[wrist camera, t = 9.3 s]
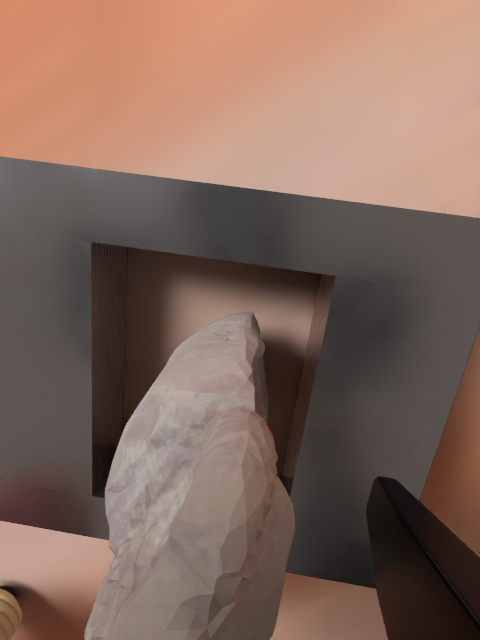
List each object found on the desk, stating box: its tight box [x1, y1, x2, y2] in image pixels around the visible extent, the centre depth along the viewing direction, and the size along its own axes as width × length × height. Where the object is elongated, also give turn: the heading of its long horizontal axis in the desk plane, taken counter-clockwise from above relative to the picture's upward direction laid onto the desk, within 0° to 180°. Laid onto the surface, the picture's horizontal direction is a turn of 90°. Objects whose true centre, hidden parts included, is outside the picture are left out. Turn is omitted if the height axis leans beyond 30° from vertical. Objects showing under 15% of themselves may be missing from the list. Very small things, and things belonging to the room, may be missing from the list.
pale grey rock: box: [84, 312, 296, 640], centre depth 8 cm, size 6×4×10 cm, turn 175°
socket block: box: [0, 157, 480, 588], centre depth 12 cm, size 12×14×2 cm
